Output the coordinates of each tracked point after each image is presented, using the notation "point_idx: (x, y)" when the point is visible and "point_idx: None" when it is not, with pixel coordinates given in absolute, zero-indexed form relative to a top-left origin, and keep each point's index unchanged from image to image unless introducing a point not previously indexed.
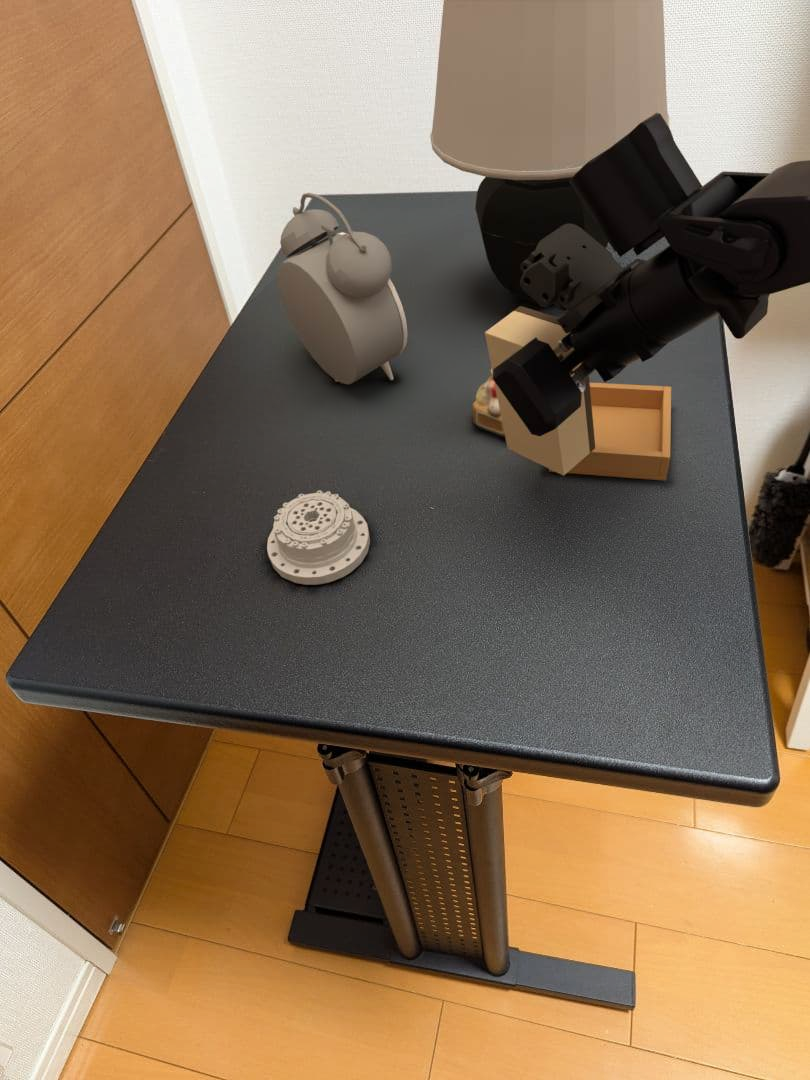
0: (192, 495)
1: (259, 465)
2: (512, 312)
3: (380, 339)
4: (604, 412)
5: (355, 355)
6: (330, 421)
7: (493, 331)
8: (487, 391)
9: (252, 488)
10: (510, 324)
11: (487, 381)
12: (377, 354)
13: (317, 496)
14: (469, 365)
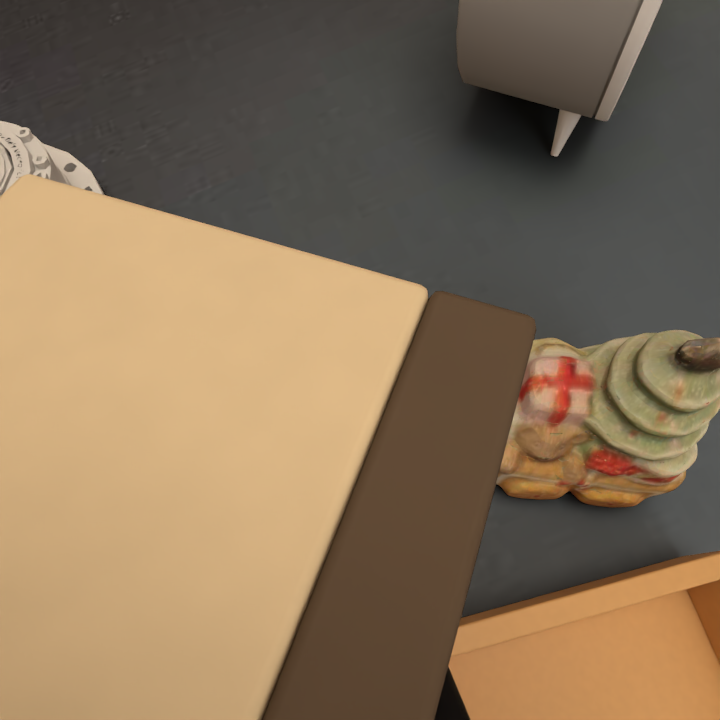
0: (106, 6)
1: (211, 59)
2: (379, 283)
3: (542, 28)
4: (710, 716)
5: (460, 11)
6: (376, 109)
7: (8, 232)
8: (526, 367)
9: (147, 74)
10: (122, 346)
11: (568, 349)
12: (519, 61)
13: (21, 160)
14: (693, 279)
